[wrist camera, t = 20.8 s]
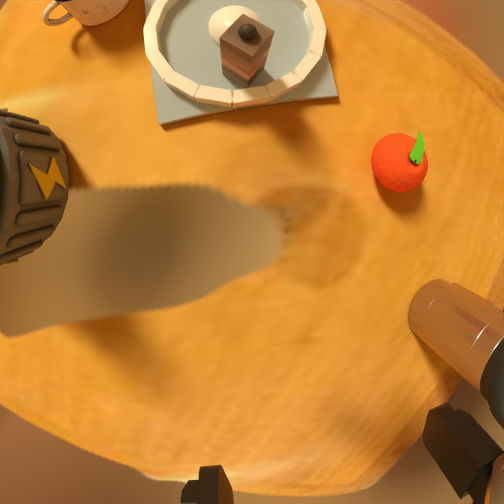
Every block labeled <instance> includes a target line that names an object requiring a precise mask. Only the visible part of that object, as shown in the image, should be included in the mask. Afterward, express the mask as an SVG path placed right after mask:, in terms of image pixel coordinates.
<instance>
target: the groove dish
mask: <svg viewBox="0 0 504 504" xmlns="http://www.w3.org/2000/svg"><path fill="white" fill-rule="evenodd" d="M144 4H145V16H146V22H145V25H144V27H143V28H144V29H143V32H144V42H145V52H146V56H147V58H148V59H149V61H150V65H151V73H152V81H153V88H154V95H155V102H156V109H157V116H158V122H159V125H160V126H162V125H166V124H170V123H174V122H178V121H182V120H186V119H191V118H195V117H200V116H204V115H209V114H214V113H219V112H225V111H230V110H236V109H242V108H248V107H254V106H261V105H268V104H275V103H284V102H292V101H302V100H313V99H325V98H336V97H337V96H338V93H337V89H336V85H335V81H334V77H333V73H332V69H331V65H330V62H329V58H328V55H327V51H326V48H325V44H324V41H325V36H326V26H325V23H324V20H323V17H322V14H321V12H320V9H319V6H318V4H317V2H316V1H315V0H144ZM242 14H245V15H247V16H248V17H250V18H252V19H254V20H256V21H258V22H260V23H261V24H263V25H265V26H267V27H269V28H270V29H272V30H274V31H275V32H274V36H273V39H272V42H271V46H270V49H269V53H268V56H267V60H266V63H265V67H264V69H263V70H262V71H261V73H260V74H259V75H258V76H257V78H256V79H255V80H254V81H253V82H252V84H251V85H250V86H249V87H248V88H244V87H243V86H241V85H239V84H238V83H236V82H235V81H233V80H231V79H230V78H228V77H226V76H224V75H223V74H222V62H221V51H220V39H219V38H220V37H221V35H222V34H223V33H224V32H225V31H226V30H227V29H228V28H229V27H230V26H231V25H232V24H233V23H234V22H235V21H236V20H237V19H238V18H239V17H240V16H241V15H242Z"/></svg>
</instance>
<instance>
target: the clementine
mask: <svg viewBox="0 0 504 504" xmlns="http://www.w3.org/2000/svg"><path fill="white" fill-rule="evenodd" d="M371 164H372V169H373V172H374V174H375V176H376V177H377V179H378V180H379V182H380V183H381V184H382V185H384V186H385V187H386V188H389V189H391V190H393V191H398V192H404V191H409V190H412V189H414V188H416V187H417V186H418V185H419V184H420V183H421V182H422V181H423V180H424V178H425V176H426V173H427V168H428V162H427V156H426V153H425V151H424V141H423V136H422V135H421V133H420V132H419V131H418V138H417V140H416V139H414V138H412V137H410V136H408V135H406V134H402V133H394V134H389V135H387V136H385V137H383V138H382V139H380V140H379V141H378V142H377V144H376V145H375V147H374V149H373V153H372V156H371Z"/></svg>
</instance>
